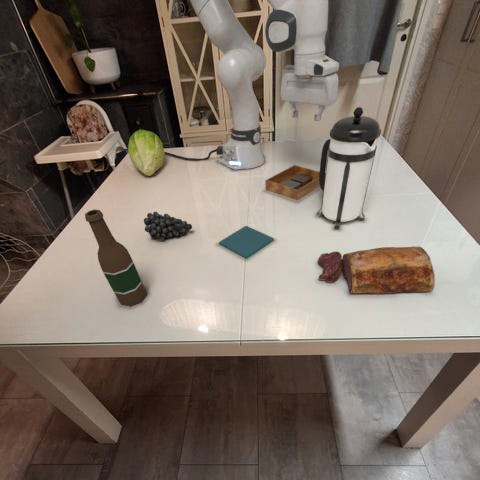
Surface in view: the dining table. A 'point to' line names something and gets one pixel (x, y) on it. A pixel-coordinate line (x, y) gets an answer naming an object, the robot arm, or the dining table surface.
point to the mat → (246, 241)
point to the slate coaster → (292, 184)
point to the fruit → (165, 226)
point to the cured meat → (381, 270)
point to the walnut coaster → (302, 179)
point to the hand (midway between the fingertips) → (306, 118)
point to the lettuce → (146, 151)
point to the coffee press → (347, 166)
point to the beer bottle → (116, 262)
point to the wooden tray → (276, 181)
